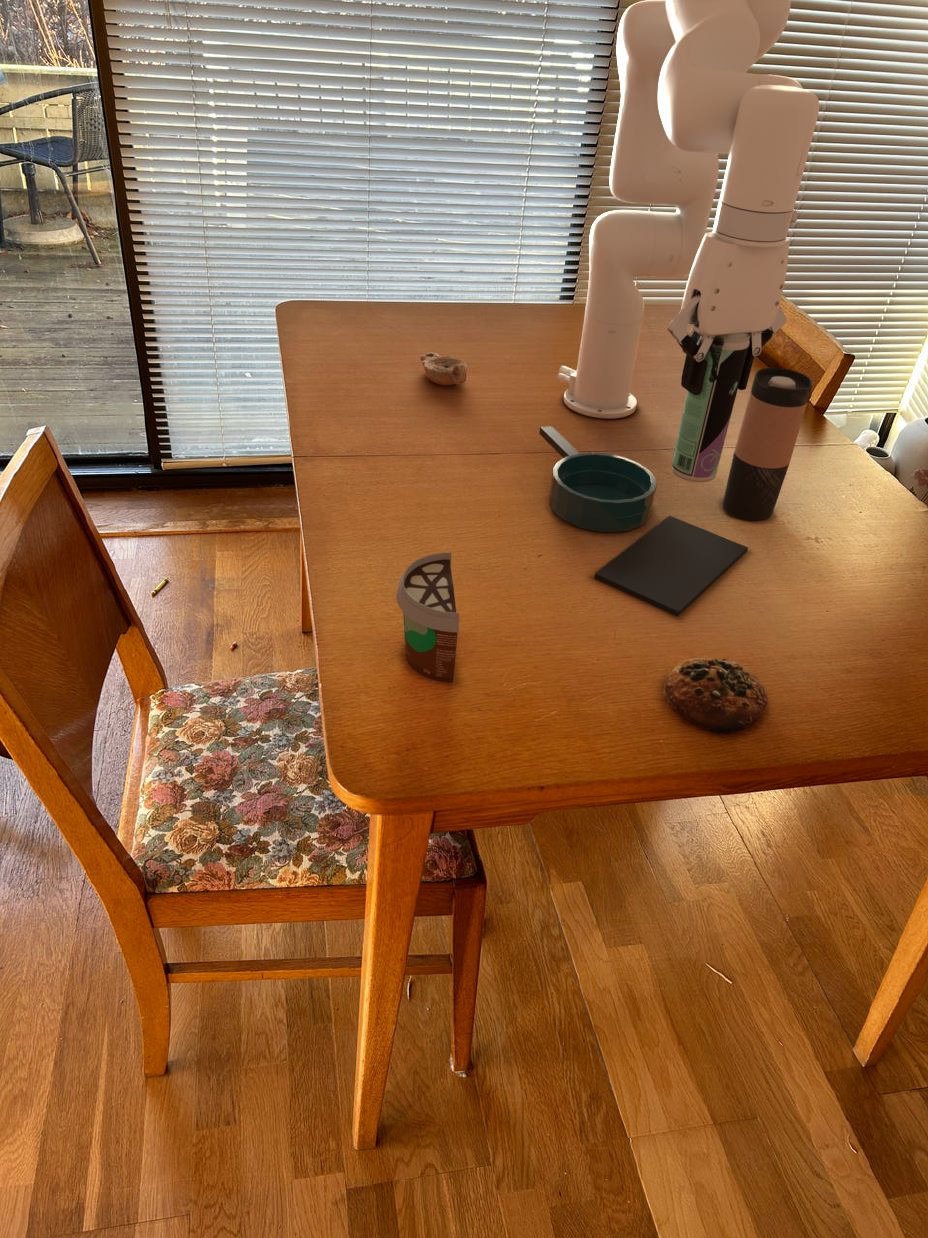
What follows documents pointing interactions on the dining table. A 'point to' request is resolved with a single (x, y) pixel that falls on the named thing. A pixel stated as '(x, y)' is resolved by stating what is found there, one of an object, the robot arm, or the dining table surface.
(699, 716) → the bread roll
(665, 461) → the dining table surface
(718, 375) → the spray can
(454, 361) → the oil lamp
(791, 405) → the travel mug
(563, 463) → the pan
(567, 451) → the pan handle
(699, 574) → the mat
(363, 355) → the dining table surface
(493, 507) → the dining table surface
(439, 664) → the food container
